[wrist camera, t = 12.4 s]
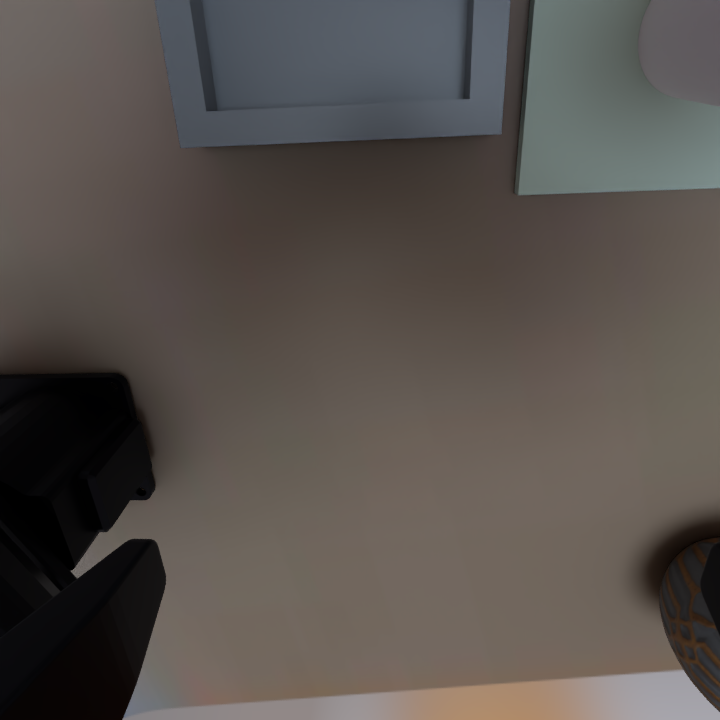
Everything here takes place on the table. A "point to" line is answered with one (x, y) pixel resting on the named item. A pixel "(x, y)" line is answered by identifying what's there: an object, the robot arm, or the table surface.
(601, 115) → the mat
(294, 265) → the table surface
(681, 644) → the vase
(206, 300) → the table surface
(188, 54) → the tray
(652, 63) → the smoothie
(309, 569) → the table surface
